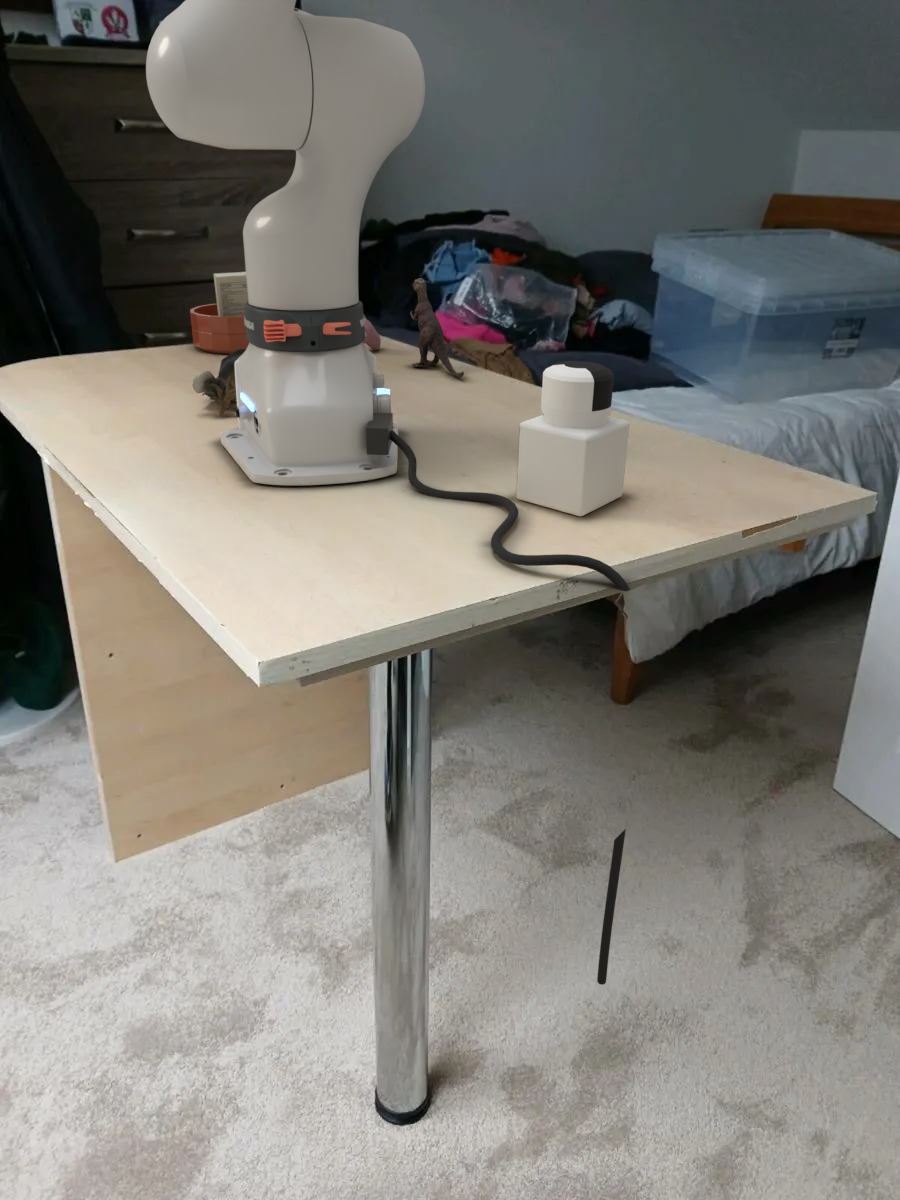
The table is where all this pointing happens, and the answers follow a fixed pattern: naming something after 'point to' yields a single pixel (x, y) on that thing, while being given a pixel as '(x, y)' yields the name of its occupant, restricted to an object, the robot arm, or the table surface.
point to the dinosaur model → (430, 331)
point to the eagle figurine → (220, 382)
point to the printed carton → (231, 293)
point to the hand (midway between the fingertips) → (267, 141)
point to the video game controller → (371, 336)
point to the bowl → (217, 330)
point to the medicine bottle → (573, 442)
